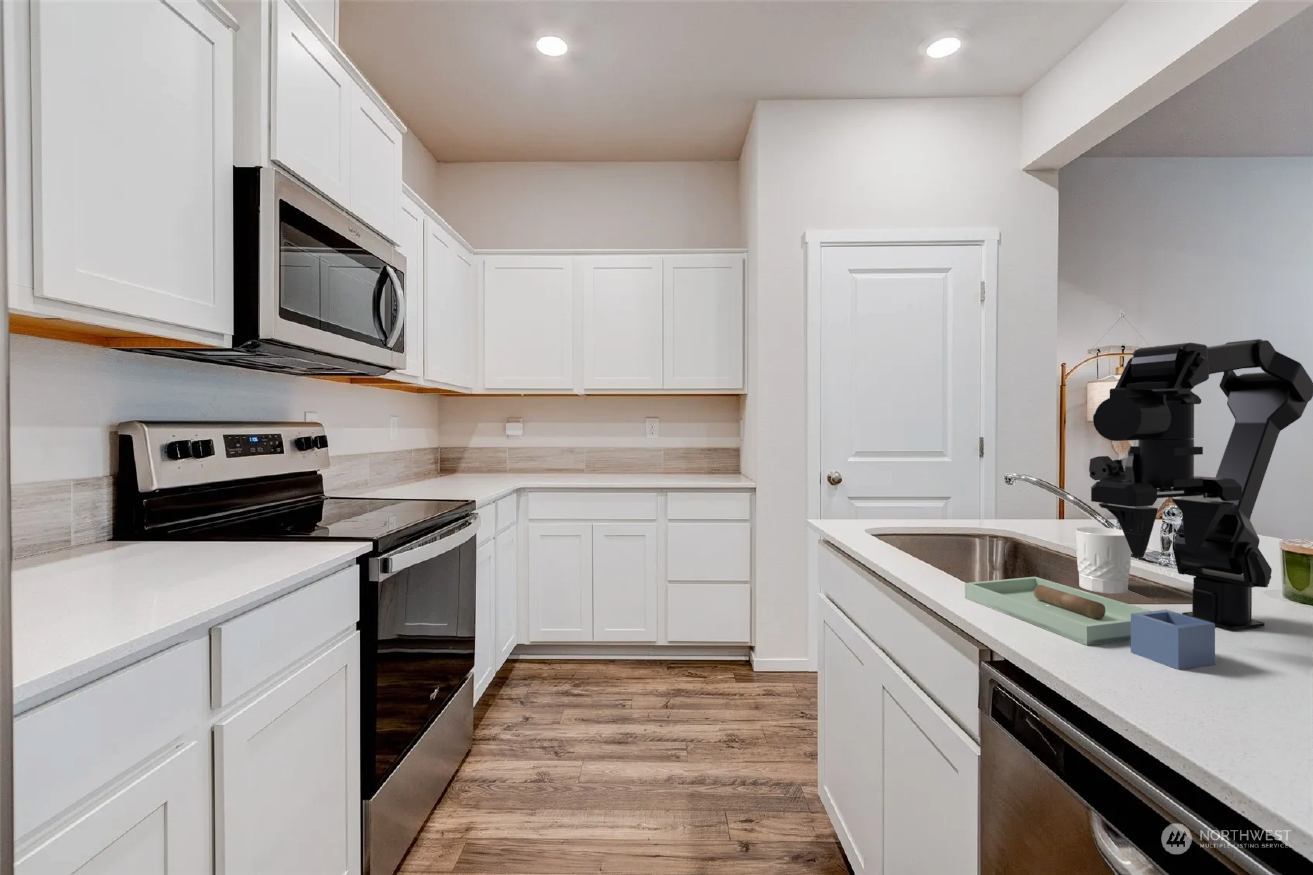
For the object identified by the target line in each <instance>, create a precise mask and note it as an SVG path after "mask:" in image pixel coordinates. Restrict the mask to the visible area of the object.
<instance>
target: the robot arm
mask: <svg viewBox="0 0 1313 875" xmlns="http://www.w3.org/2000/svg"><path fill="white" fill-rule="evenodd" d="M1131 355H1132V357H1130V358H1129V359H1128V361H1127V363H1126V365H1125V367H1124V368H1123V371H1122V373H1121V375H1120V377H1119V378H1118V381H1117V383H1116V385H1115V387H1114V388H1110V389H1109V397H1108V398H1107V399H1106V398H1105V400H1103V401H1102V402H1101V403H1100V404H1099V405H1098V406H1097V408H1096V409H1095V413H1093V415H1092V422H1093V425H1094V429H1095V430H1096V431H1097V433H1098V434H1099V435H1100V436H1101V437H1103V439H1106V440H1108V441H1114V442H1122V441H1123V442H1124V441H1126V442H1127V441H1138V442H1137V444H1138V445H1133V446H1132V445H1131V446H1129V449H1128V450H1127V457H1125V458H1122V459H1114V460H1113V459H1112V458H1111V457H1110V456H1109V455H1101V456H1095V457H1092V458H1090V459H1089V464H1088V472H1089V477H1090V478H1091V479H1092V480H1094V481H1096V482H1094V484H1093V485H1091V487H1090V501H1091V502H1092V503H1098V506H1099V507H1100V508H1102V509H1106V510H1107V511H1109V512H1110V513H1111V514H1112V515H1113V516H1114V517H1115V519H1116V520H1117V522H1118V523H1119V526H1120V528H1121V530H1123V533H1124V535H1125V538H1126V540H1127V542H1128V545H1129V547H1130V550H1131V555H1132V556H1133V557H1135V558H1139V559H1140V558H1141V559H1143V557H1144V556H1145V554H1146V553H1147V552H1146V551H1147V549H1148V545H1149V543H1150V539H1151V534H1152V531H1153V529H1154V528H1153V527H1154V525H1155V524H1154V523H1155V521H1156V518H1157V515H1158V511H1159V508H1158V507H1152V506H1153V505H1154V504H1155V503H1156V501H1157V500H1158V499H1163V498H1165V499H1166V498H1172V499H1171V500H1172V502H1173V503H1174V504H1175V505H1176V506H1177V508H1178V509H1179V510H1180V511H1181V515H1182V517H1181V521H1180V524H1179V527H1178V529H1177V530H1176V531H1175V535H1174V538H1173V541H1172V551H1173V555H1174V560H1175V564H1176V569H1177V573H1178V575H1183V576H1184V575H1186V576H1187V575H1188V576H1191V577H1193V578H1192V579H1193V586H1192V590H1191V591H1192V592H1191V593H1192V595H1191V596H1192V598H1191V600H1192V603H1191V604H1192V607H1191V608H1192V611H1186V612H1181V614H1183V615H1187V616H1190V617H1194V618H1197V619H1201V620H1204V621H1208V622H1211V623H1215V627H1217V628H1221V629H1225V630H1230V631H1235V630H1245V629H1254V628H1260V627H1265V624H1266V623H1265V622H1264V621H1261V620H1257V619H1253V618H1252V617H1253V616H1252V614H1253V613H1252V608H1253V607H1252V606H1253V603H1252V602H1253V600H1252V599H1253V597H1252V596H1253V595H1252V594H1253V593H1252V590H1253V589H1252V588H1268V587H1269V584H1270V583H1271V579H1272V571H1273V569H1272V567H1271V566H1270V564H1269V562H1268V561H1267V560H1266V558H1265V557H1264V555H1263V553H1262V552H1261V550H1260V548H1259V546H1260V538H1259V536H1258V534H1257V531H1256V530H1255V527H1254V526H1253V524H1252V522H1251V518H1252V514H1253V511H1254V508H1255V505H1256V501H1257V499H1258V497H1259V493H1260V491H1261V487H1262V485H1263V481H1264V478H1265V476H1266V473H1267V469H1268V467H1269V464H1270V461H1271V458H1272V455H1273V452H1274V450H1275V445H1276V443H1277V440H1278V437H1279V434H1280V432H1281V431H1282V430H1284V429H1286V428H1288V427H1289V426H1290V425H1291V424H1293V423H1294V422H1296V421H1298V420H1299V419H1300V418H1302V416H1303V413H1304V412H1305V409H1306V407H1307V405H1308V403H1309V402H1310V401H1311V400H1313V380H1312V378H1311V376H1310V375H1309V373H1307V371H1306V369H1305V368H1304V366H1303V364H1302V363H1300V361H1297V360H1296V359H1293V358H1291V357H1289V356H1287V355H1285V354H1283V353H1281V352H1279V351H1277V350H1276V349H1275V348H1274V346H1273V345H1272V344H1271V342H1270V341H1269V340H1266V339H1264V340H1263V339H1260V338H1256V339H1248V340H1238V341H1228V342H1226V343H1225V344H1219V345H1213V346H1207V344H1203V343H1196V342H1183V343H1176V344H1166V345H1157V346H1148V347H1140V348H1137V349H1135V350H1134V351H1133V352H1132V354H1131ZM1255 368H1260V369H1261V370H1262V372H1251V373H1242V374H1240V375H1237V373H1236V372H1235V371H1237V370H1242V369H1255ZM1218 373H1223V376H1222V378H1221V380H1220V383H1219V385H1218V386H1219V389H1221V390H1222V392H1223V394H1224V395H1225V396H1226V398H1227V402H1226V404H1227V406H1228V408H1229V410H1230V412H1231V414H1232V416H1233V418H1234V420H1235V421H1234V423H1233V428H1232V429H1231V430H1232V431H1231V432H1230V435H1229V439H1228V441H1227V444H1226V447H1225V449H1224V453H1223V455H1222V458H1221V461H1220V464H1219V466H1218V469H1217V472H1216V476H1215V477H1214V476H1213V477H1212V476H1211V477H1210V476H1201V475H1200V476H1199V475H1198V476H1197V475H1195V456H1198V455H1199V456H1200V455H1204V450H1203V449H1204V446H1195V405H1200V404H1202V399H1201V397H1199V395H1198V394H1195V392H1193V391H1192V390H1193V389H1194V388H1195V386H1198V385H1200V384H1202V383H1204V382H1206V381H1207V380H1209V379H1210V375H1212V374H1213V375H1214V374H1218Z"/></svg>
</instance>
